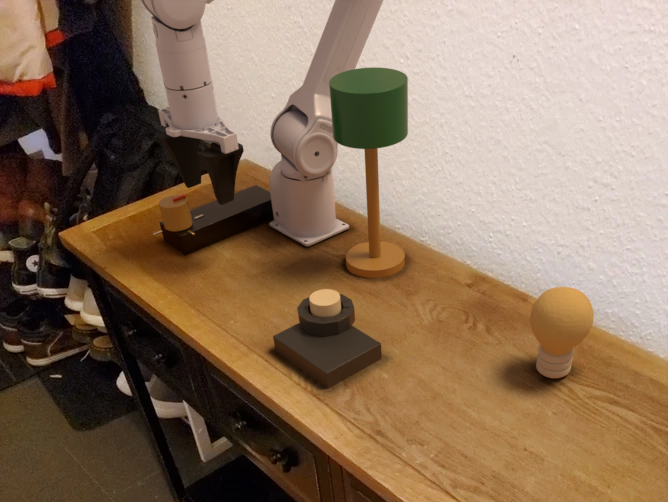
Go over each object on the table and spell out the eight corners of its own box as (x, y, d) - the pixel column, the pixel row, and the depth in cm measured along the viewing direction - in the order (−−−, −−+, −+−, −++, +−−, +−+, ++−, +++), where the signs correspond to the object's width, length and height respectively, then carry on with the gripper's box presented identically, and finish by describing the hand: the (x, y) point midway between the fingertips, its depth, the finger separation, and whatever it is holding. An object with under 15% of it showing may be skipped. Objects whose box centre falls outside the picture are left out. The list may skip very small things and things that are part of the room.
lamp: (329, 263, 101) (313, 81, 85) (378, 240, 105) (372, 62, 89) (372, 288, 96) (364, 99, 80) (422, 263, 100) (424, 78, 84)
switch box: (268, 347, 88) (264, 318, 85) (332, 315, 92) (329, 286, 89) (328, 389, 82) (324, 359, 79) (393, 352, 86) (392, 323, 83)
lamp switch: (304, 310, 87) (302, 297, 85) (328, 298, 88) (327, 285, 87) (323, 322, 85) (322, 309, 83) (347, 310, 86) (346, 297, 85)
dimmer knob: (173, 234, 103) (167, 208, 100) (159, 225, 105) (152, 199, 103) (198, 224, 105) (192, 198, 102) (183, 215, 107) (177, 190, 104)
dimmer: (173, 265, 103) (168, 244, 101) (144, 245, 108) (138, 224, 106) (285, 218, 112) (283, 197, 109) (254, 201, 116) (251, 181, 114)
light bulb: (582, 391, 79) (599, 311, 72) (521, 386, 80) (532, 306, 73) (582, 356, 84) (597, 277, 77) (524, 352, 85) (535, 273, 78)
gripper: (128, 79, 91) (155, 187, 101) (194, 105, 83) (216, 220, 93) (176, 64, 94) (198, 171, 104) (244, 88, 87) (260, 201, 96)
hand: (209, 193), depth 99 cm, fingers open, 7 cm apart
